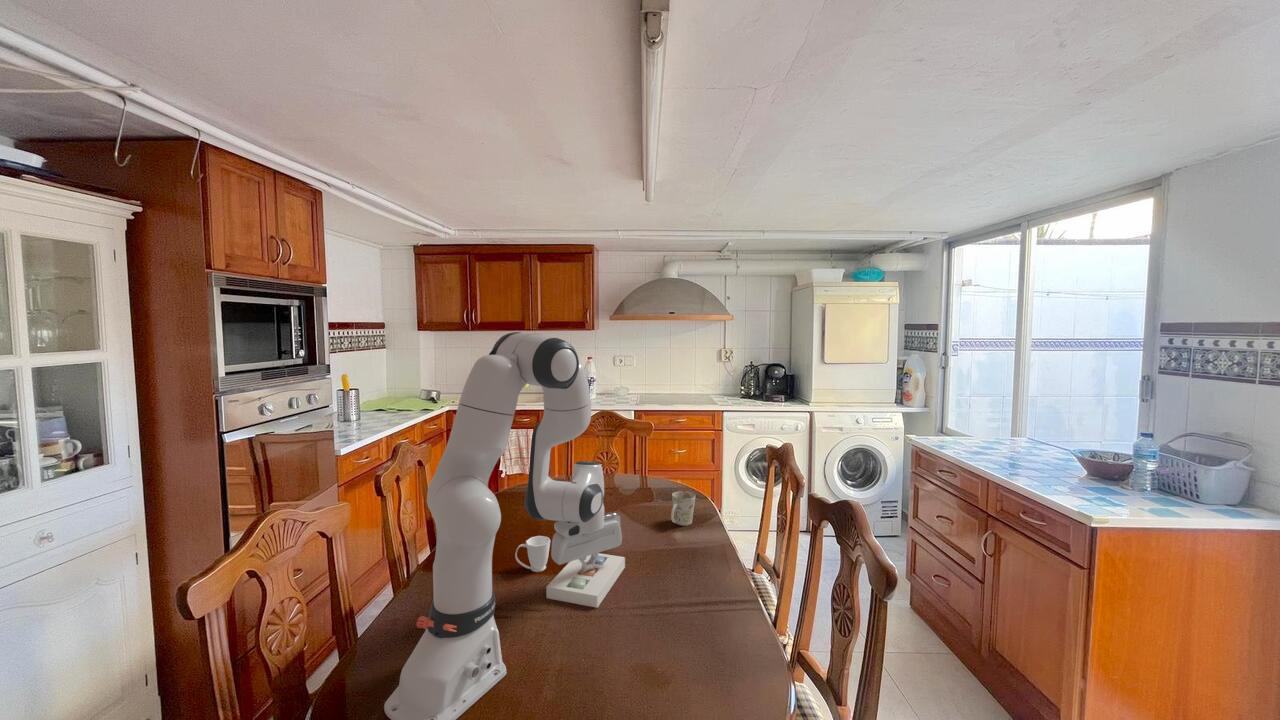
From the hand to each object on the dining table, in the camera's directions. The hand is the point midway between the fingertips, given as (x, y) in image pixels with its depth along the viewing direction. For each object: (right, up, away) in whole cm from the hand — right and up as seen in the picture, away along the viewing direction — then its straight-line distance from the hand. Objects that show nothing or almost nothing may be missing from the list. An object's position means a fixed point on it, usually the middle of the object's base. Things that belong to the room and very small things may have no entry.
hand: (588, 569), depth 126 cm
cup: (-17, -3, +7) cm, 18 cm away
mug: (+29, -2, +38) cm, 48 cm away
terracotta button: (0, -3, 0) cm, 3 cm away
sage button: (-2, -3, -6) cm, 7 cm away
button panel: (0, -3, 0) cm, 3 cm away
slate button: (+2, -3, +6) cm, 7 cm away
